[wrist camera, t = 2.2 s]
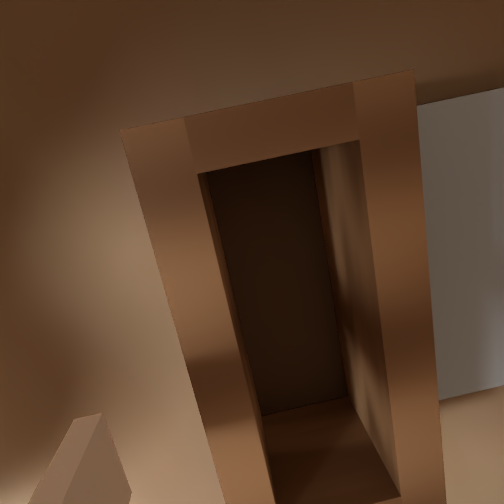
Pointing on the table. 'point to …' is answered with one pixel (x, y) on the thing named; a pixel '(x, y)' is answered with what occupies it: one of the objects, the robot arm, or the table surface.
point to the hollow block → (343, 289)
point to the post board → (465, 237)
